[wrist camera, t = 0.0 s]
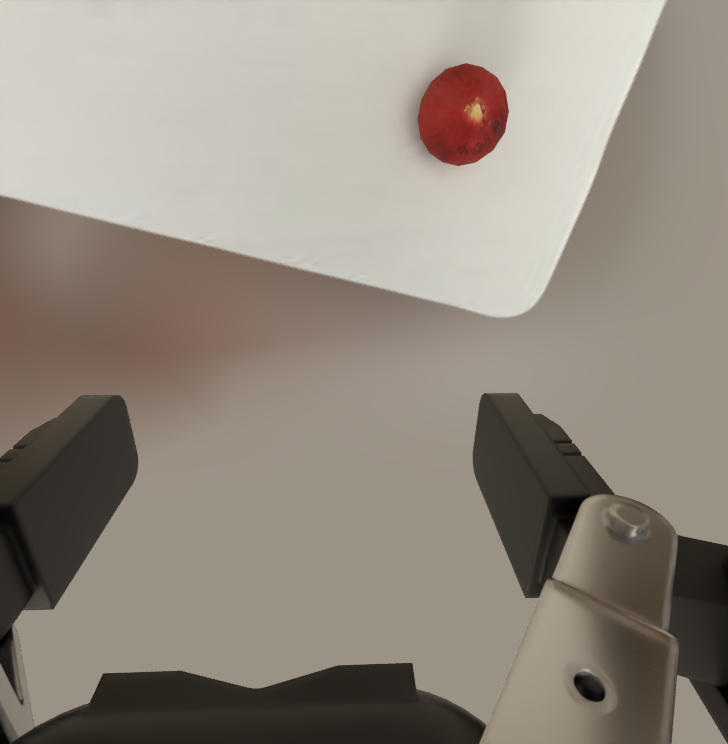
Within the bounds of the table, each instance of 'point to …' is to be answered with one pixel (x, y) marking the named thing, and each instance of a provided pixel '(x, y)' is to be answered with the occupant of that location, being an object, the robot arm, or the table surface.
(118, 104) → the table surface
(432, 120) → the pomegranate
